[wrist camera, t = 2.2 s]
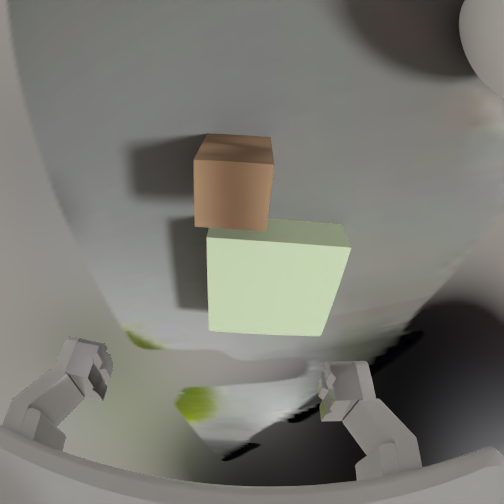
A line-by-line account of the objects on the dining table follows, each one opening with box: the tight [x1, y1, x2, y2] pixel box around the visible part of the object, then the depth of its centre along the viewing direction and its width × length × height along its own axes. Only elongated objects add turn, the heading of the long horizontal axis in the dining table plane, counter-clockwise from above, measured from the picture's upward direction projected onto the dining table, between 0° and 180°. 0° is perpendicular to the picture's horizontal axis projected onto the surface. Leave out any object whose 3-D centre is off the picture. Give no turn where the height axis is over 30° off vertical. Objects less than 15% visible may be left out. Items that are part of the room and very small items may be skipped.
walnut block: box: [194, 134, 274, 231], centre depth 23 cm, size 5×5×6 cm
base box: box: [207, 218, 351, 336], centre depth 31 cm, size 12×12×4 cm
